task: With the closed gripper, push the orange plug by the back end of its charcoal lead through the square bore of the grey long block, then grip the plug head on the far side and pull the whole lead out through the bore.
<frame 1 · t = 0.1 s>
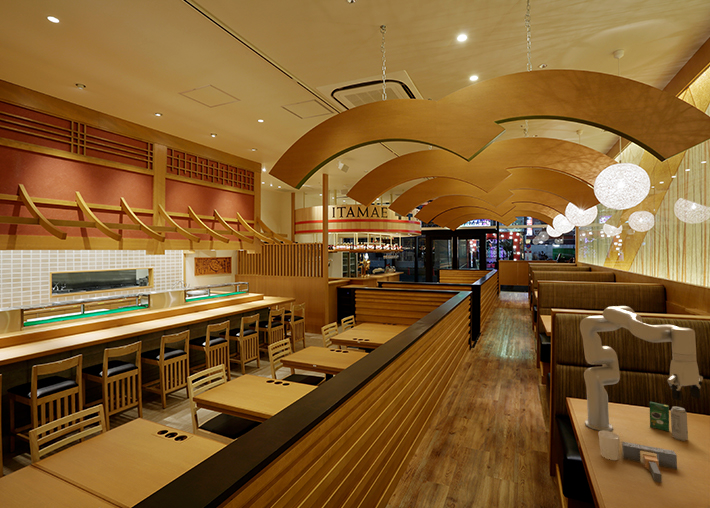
hand: (686, 398, 151), 31 cm above the table, tool pointing down, fingers open, 9 cm apart
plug: (651, 466, 156), on the table
grey long block: (648, 461, 159), on the table
energy drink can: (679, 438, 179), on the table
white cup: (609, 457, 164), on the table
coffee box: (660, 429, 190), on the table
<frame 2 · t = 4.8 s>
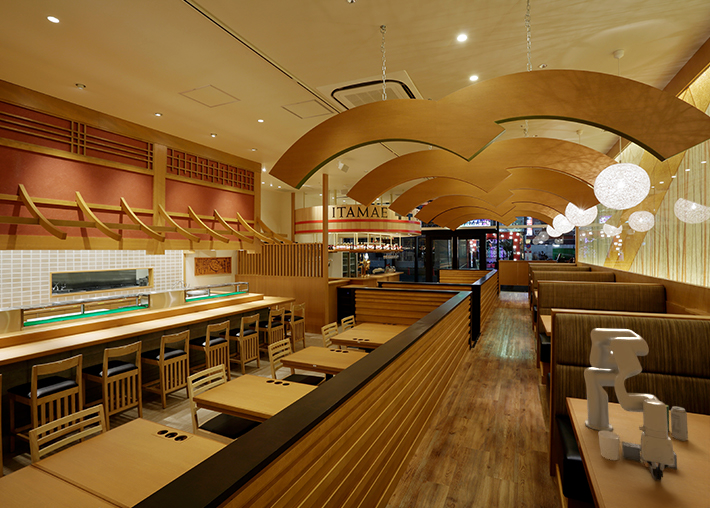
hand: (657, 478, 145), 2 cm above the table, tool pointing down, fingers closed
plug: (650, 465, 157), on the table, touching gripper
everything else where it was.
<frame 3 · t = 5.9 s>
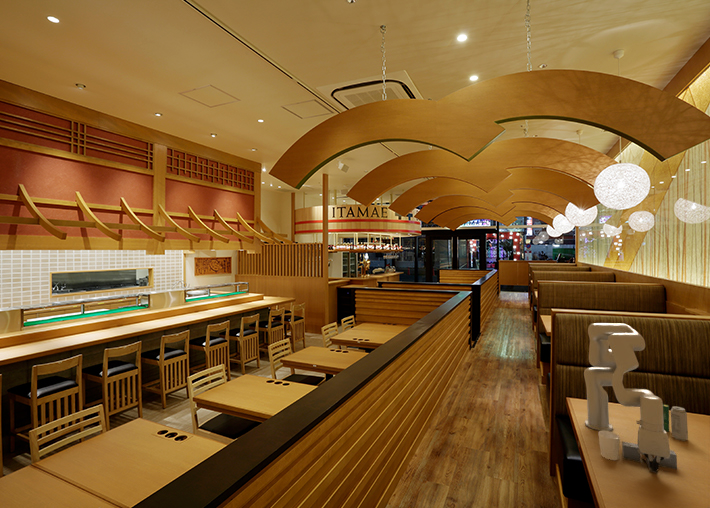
hand: (654, 470, 150), 2 cm above the table, tool pointing down, fingers closed
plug: (647, 458, 162), on the table, touching gripper
everything else where it was.
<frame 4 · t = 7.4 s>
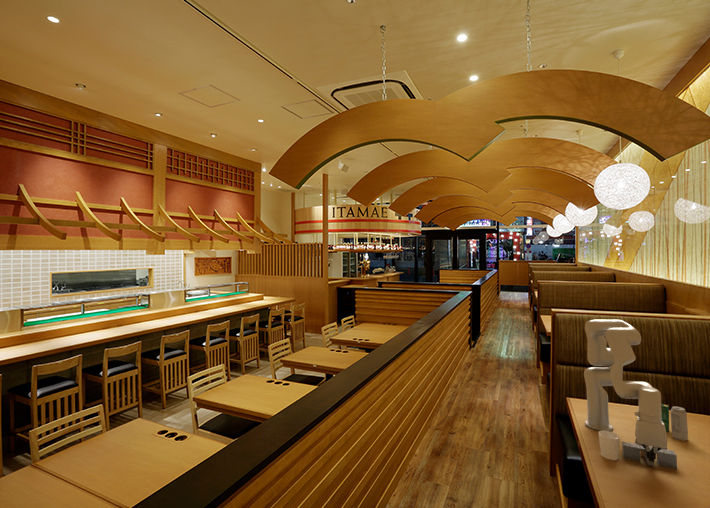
hand: (651, 460, 153), 4 cm above the table, tool pointing down, fingers closed
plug: (646, 454, 165), on the table
everything else where it was.
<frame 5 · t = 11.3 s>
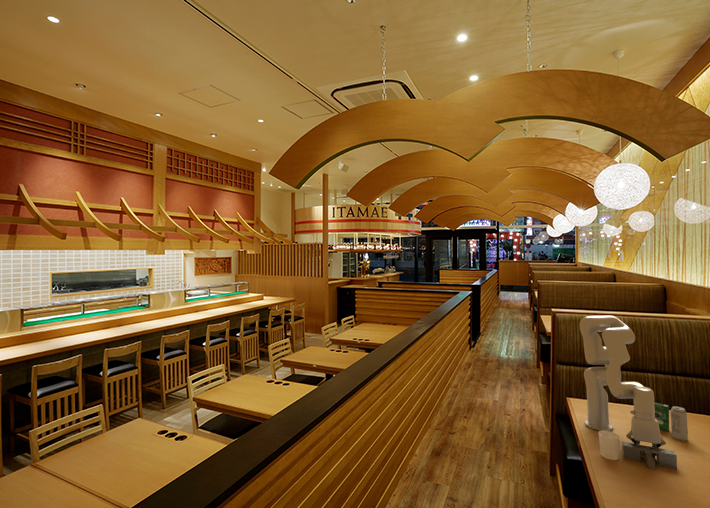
hand: (646, 455, 164), 1 cm above the table, tool pointing down, fingers closed on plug, 4 cm apart
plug: (645, 455, 165), on the table, touching gripper
everything else where it was.
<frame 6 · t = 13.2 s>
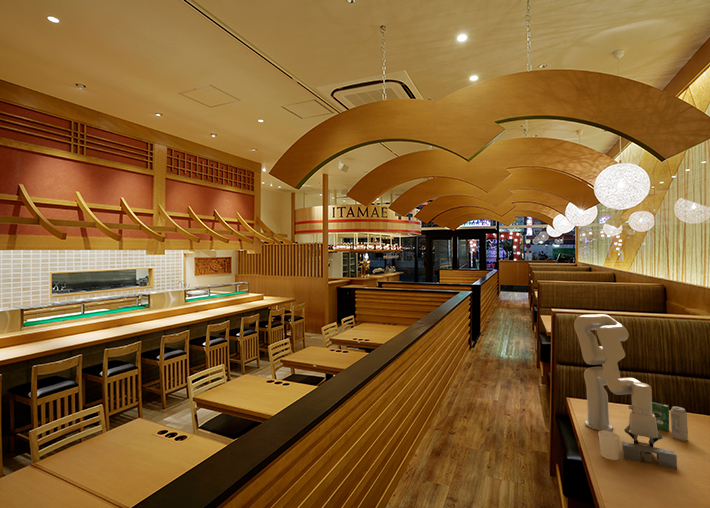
hand: (643, 449, 168), 1 cm above the table, tool pointing down, fingers closed on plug, 4 cm apart
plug: (643, 449, 169), point 1 cm above the table, touching gripper
everything else where it was.
when the fingers open (1 cm above the table, at t = 15.0 s): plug stays where it is, on the table.
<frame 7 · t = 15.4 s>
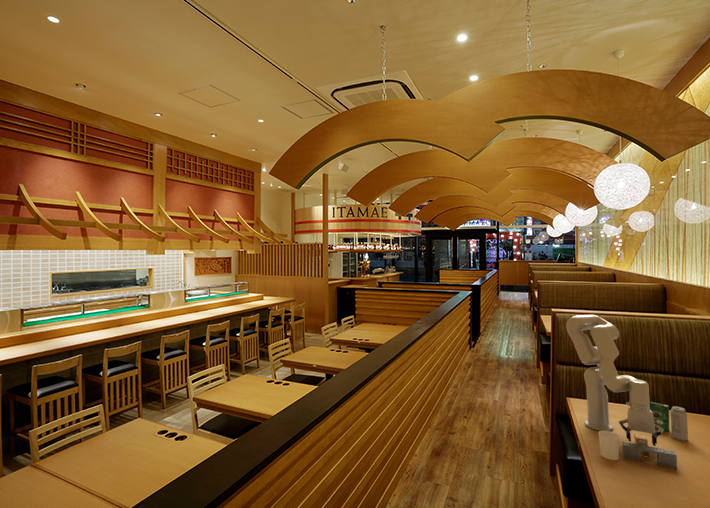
hand: (641, 442, 173), 2 cm above the table, tool pointing down, fingers open, 9 cm apart
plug: (641, 445, 174), on the table
everything else where it was.
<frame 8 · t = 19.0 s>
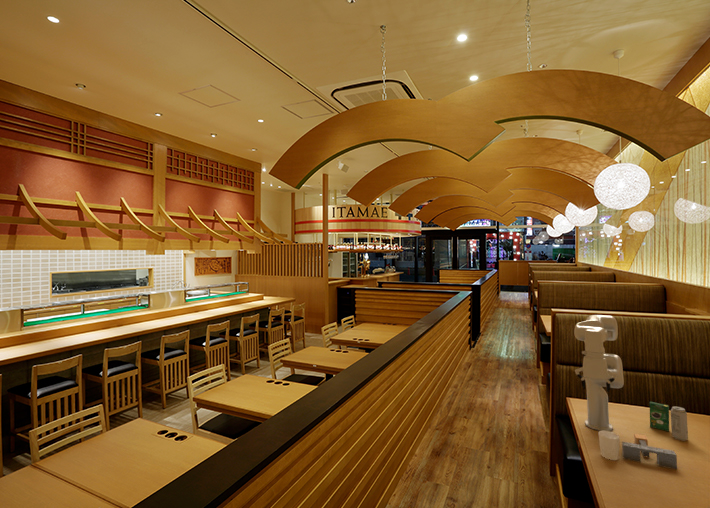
hand: (595, 389, 177), 26 cm above the table, tool pointing down, fingers open, 9 cm apart
nothing on the table moved.
at the end: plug inside the target area (0.8 cm from its centre), on the table; the gripper is holding nothing; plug tilted 0° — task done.
